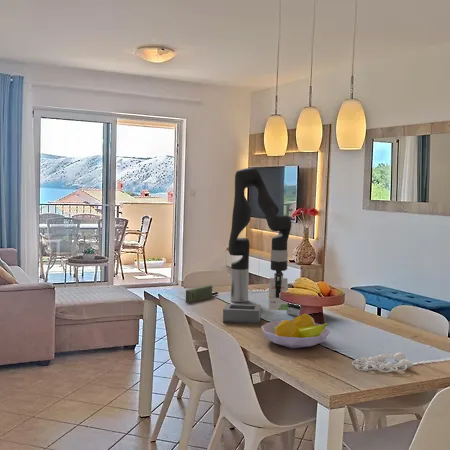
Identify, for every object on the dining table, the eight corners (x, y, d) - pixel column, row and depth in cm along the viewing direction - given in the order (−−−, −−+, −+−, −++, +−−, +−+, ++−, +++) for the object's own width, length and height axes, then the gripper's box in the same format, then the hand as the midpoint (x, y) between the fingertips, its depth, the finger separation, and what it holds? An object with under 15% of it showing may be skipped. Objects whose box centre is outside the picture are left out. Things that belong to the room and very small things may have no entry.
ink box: (287, 308, 259) (288, 276, 258) (287, 310, 254) (288, 278, 253) (268, 307, 260) (269, 275, 258) (268, 309, 255) (269, 277, 253)
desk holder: (226, 316, 263) (226, 303, 263) (260, 317, 261) (260, 305, 260) (222, 322, 251) (223, 309, 251) (258, 324, 249) (258, 311, 249)
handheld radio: (184, 302, 293) (214, 294, 313) (189, 303, 291) (219, 295, 311) (184, 289, 292) (215, 283, 312) (189, 290, 290) (219, 284, 310)
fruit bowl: (250, 337, 228) (250, 310, 227) (308, 331, 238) (309, 305, 237) (282, 358, 202) (282, 327, 201) (346, 350, 212) (346, 321, 211)
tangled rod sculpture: (359, 379, 186) (359, 367, 185) (348, 361, 200) (348, 350, 199) (417, 377, 186) (417, 365, 186) (401, 359, 200) (402, 348, 200)
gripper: (271, 256, 262) (270, 292, 264) (269, 261, 248) (269, 299, 250) (287, 257, 261) (287, 293, 263) (287, 262, 247) (286, 300, 249)
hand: (278, 296), depth 256 cm, fingers closed on ink box, 5 cm apart
